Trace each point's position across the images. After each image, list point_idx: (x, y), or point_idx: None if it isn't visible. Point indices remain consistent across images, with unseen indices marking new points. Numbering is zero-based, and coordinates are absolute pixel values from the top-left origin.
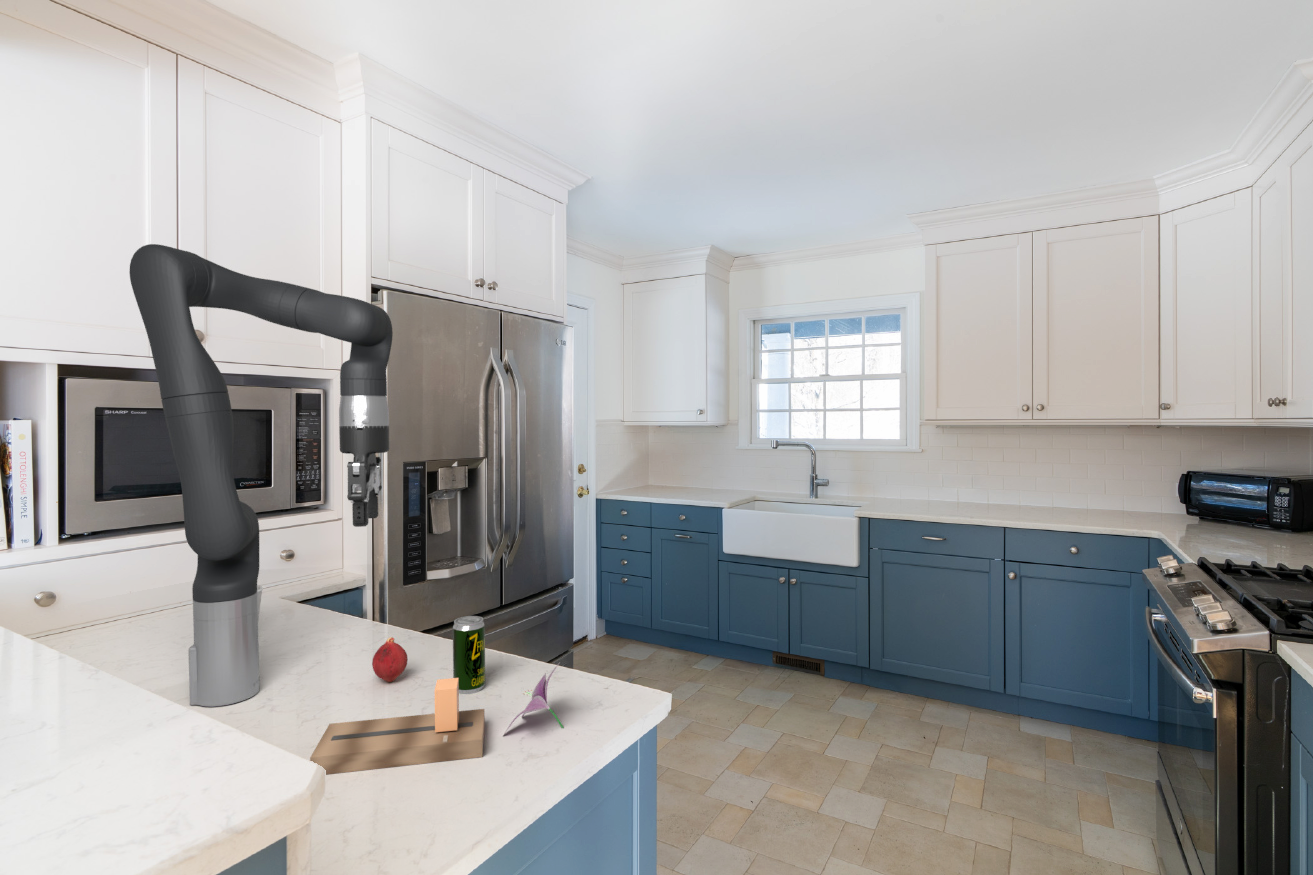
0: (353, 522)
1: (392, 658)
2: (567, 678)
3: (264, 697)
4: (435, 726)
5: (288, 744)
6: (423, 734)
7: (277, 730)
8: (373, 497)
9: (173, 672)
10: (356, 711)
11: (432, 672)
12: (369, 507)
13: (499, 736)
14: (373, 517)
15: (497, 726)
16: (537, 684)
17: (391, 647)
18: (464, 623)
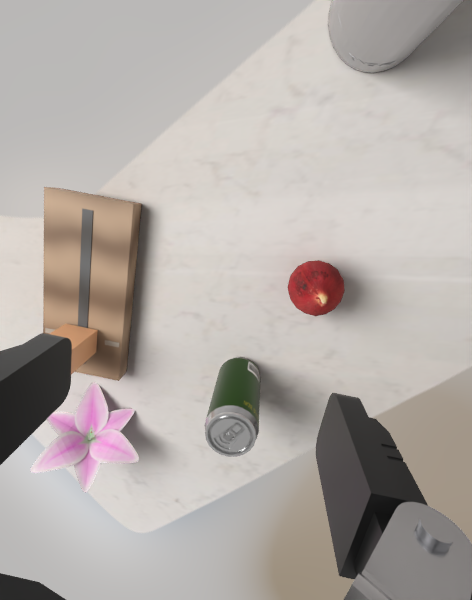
0: (33, 340)
1: (292, 294)
2: (221, 476)
3: (338, 88)
4: (61, 326)
5: (147, 152)
6: (70, 311)
7: (197, 130)
8: (346, 547)
9: None
10: (220, 233)
11: (321, 338)
12: (337, 459)
13: (94, 379)
14: (320, 432)
15: (118, 381)
16: (46, 450)
17: (306, 297)
18: (214, 426)
